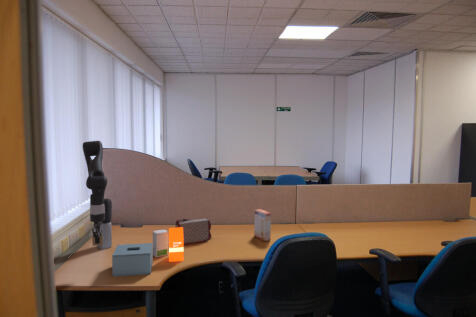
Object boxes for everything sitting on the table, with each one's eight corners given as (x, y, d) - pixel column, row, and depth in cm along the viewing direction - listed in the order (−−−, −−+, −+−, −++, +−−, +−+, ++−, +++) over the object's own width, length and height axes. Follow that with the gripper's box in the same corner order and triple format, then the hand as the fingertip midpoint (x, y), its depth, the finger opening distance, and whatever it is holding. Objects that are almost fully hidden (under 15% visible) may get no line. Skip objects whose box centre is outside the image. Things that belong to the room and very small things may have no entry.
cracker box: (270, 240, 231) (271, 212, 229) (264, 241, 228) (264, 213, 226) (260, 234, 243) (261, 208, 242) (253, 235, 240) (254, 209, 239)
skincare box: (155, 258, 196) (155, 233, 194) (152, 254, 201) (151, 231, 200) (168, 255, 201) (168, 231, 199) (164, 251, 206) (164, 228, 205)
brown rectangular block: (94, 243, 175) (93, 235, 174) (103, 243, 176) (103, 234, 175) (92, 245, 172) (92, 236, 171) (102, 245, 173) (102, 236, 172)
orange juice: (168, 256, 198) (168, 226, 196) (182, 255, 200) (182, 225, 198) (169, 261, 190) (168, 229, 188) (183, 260, 192) (183, 229, 190)
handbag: (208, 235, 239) (209, 213, 237) (214, 240, 230) (215, 217, 228) (173, 241, 225) (173, 218, 224) (178, 246, 216) (178, 222, 214)
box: (117, 264, 185) (117, 244, 184) (152, 262, 189) (152, 243, 188) (112, 276, 170) (112, 255, 169) (150, 274, 174) (150, 253, 173)
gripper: (93, 209, 178) (94, 238, 180) (86, 215, 164) (87, 247, 166) (107, 208, 180) (108, 238, 181) (101, 215, 166) (102, 246, 167)
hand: (98, 242), depth 173 cm, fingers closed on brown rectangular block, 2 cm apart
